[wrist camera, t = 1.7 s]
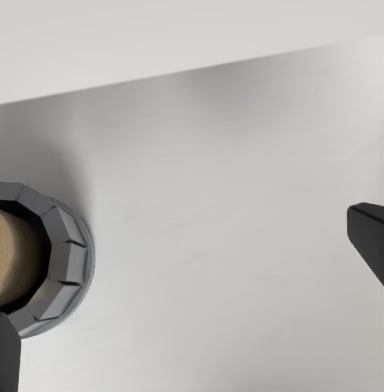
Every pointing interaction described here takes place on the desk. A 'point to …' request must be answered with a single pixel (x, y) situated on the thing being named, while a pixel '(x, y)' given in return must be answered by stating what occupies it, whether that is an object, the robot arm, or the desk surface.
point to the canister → (22, 259)
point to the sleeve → (51, 260)
